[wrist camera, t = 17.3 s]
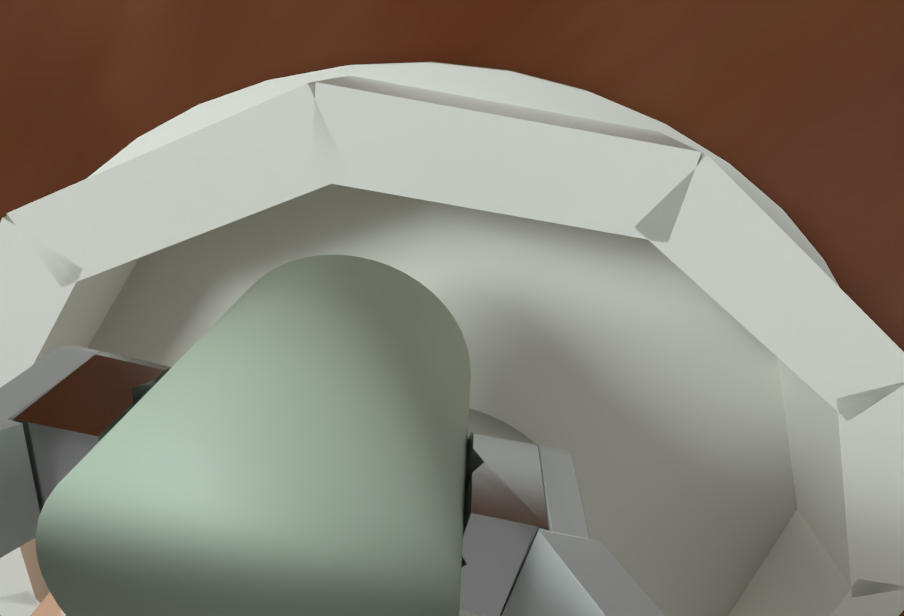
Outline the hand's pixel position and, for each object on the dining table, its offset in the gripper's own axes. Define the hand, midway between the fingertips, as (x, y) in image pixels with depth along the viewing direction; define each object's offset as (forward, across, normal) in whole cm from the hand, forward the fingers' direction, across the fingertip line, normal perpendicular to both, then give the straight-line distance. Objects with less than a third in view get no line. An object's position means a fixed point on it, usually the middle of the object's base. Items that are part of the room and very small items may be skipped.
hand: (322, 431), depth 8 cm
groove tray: (+6, -2, +8) cm, 10 cm away
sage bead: (+2, 0, 0) cm, 2 cm away
